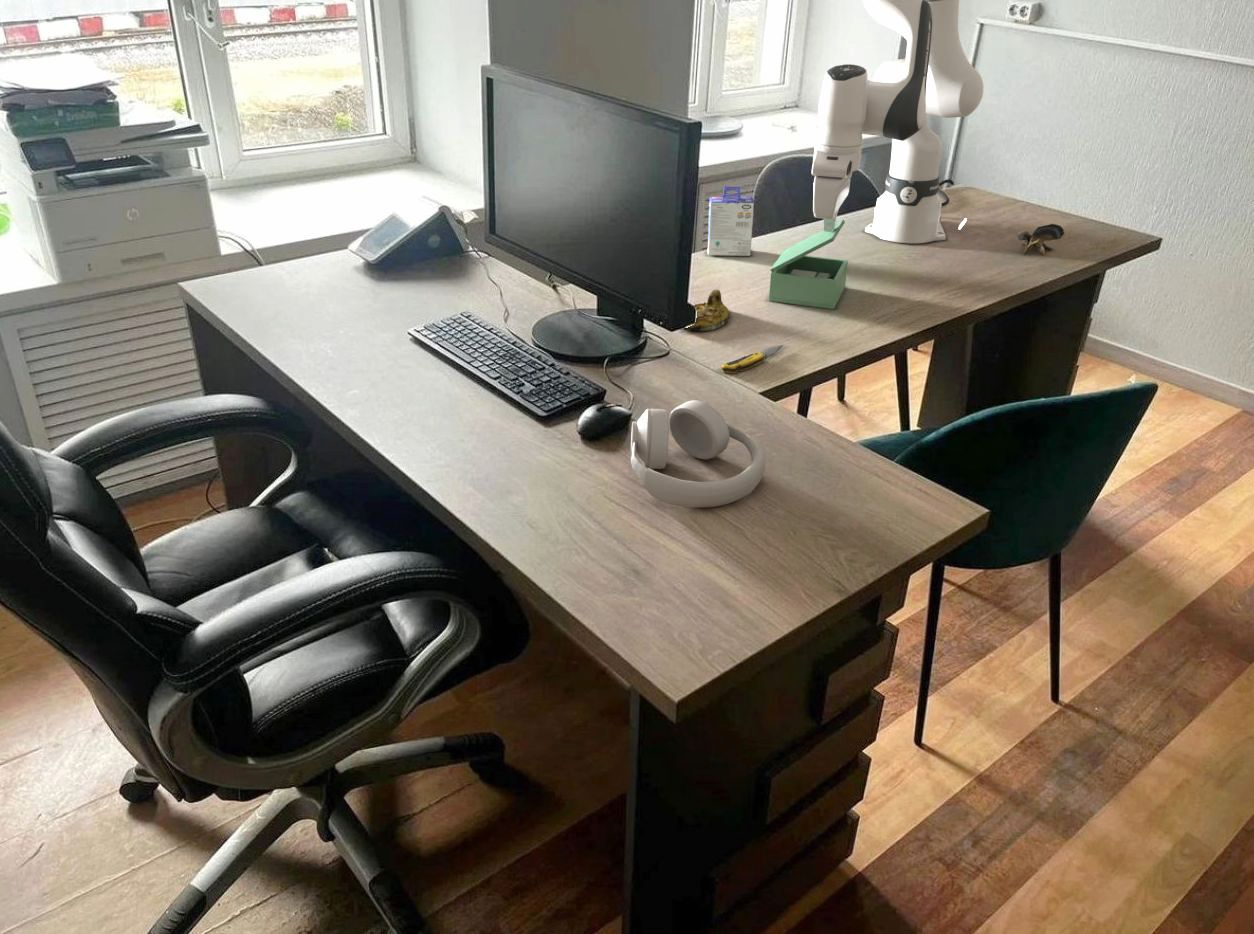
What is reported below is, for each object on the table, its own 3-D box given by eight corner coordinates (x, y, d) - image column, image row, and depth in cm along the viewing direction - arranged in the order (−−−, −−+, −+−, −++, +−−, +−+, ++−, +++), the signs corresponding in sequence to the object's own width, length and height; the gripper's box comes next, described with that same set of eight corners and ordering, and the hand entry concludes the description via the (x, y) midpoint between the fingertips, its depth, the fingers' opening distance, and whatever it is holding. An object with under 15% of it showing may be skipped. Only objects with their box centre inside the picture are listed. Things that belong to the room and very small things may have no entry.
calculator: (784, 291, 203) (785, 275, 201) (789, 283, 207) (790, 268, 205) (826, 296, 200) (827, 280, 199) (830, 288, 204) (832, 273, 203)
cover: (845, 222, 201) (843, 219, 201) (833, 241, 190) (831, 237, 190) (786, 252, 208) (784, 249, 208) (771, 272, 197) (770, 269, 197)
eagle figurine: (1046, 256, 223) (1070, 241, 227) (1033, 226, 222) (1058, 212, 226) (1019, 265, 230) (1043, 251, 234) (1007, 237, 229) (1031, 223, 233)
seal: (709, 342, 184) (738, 315, 196) (712, 319, 182) (742, 293, 193) (663, 328, 187) (695, 302, 199) (666, 305, 185) (699, 280, 196)
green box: (845, 287, 208) (848, 260, 205) (833, 309, 197) (837, 281, 194) (782, 279, 211) (785, 253, 209) (768, 300, 200) (770, 273, 197)
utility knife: (775, 338, 180) (789, 342, 179) (775, 344, 181) (788, 349, 179) (720, 365, 170) (734, 370, 168) (720, 371, 170) (734, 376, 169)
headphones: (603, 448, 145) (661, 534, 131) (606, 404, 140) (666, 488, 126) (715, 426, 151) (782, 505, 137) (721, 382, 147) (791, 460, 132)
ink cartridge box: (749, 249, 230) (753, 185, 222) (751, 256, 225) (756, 192, 218) (706, 248, 230) (709, 185, 222) (707, 256, 225) (710, 191, 218)
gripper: (829, 145, 199) (822, 214, 206) (810, 168, 182) (803, 242, 189) (861, 148, 197) (853, 217, 204) (845, 171, 180) (836, 246, 187)
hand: (828, 229), depth 196 cm, fingers closed
